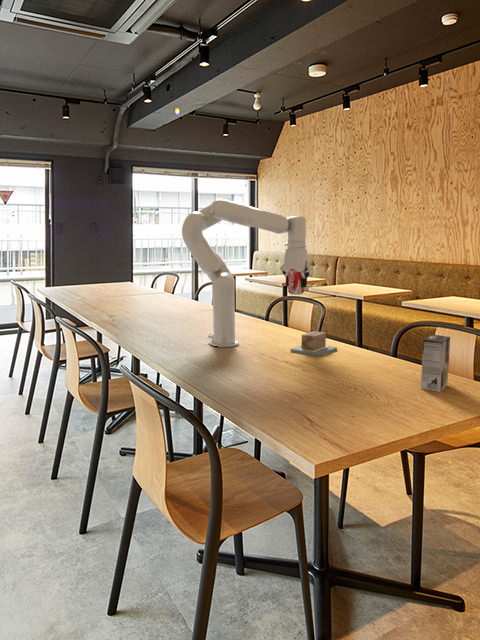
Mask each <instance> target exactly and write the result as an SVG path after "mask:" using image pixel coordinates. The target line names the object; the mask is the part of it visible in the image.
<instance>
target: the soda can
mask: <svg viewBox="0 0 480 640" xmlns="http://www.w3.org/2000/svg"><path fill="white" fill-rule="evenodd" d="M302 278H303V277H302V275H301V272H297V271H296V270H295V269H290V270H289V272H288V287H287V289H288V293H289V294H290V295H294V296H298V295H299V296H301V295H303V294H304V293H305V287H304V288H302V287H301V279H302Z"/></svg>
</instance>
